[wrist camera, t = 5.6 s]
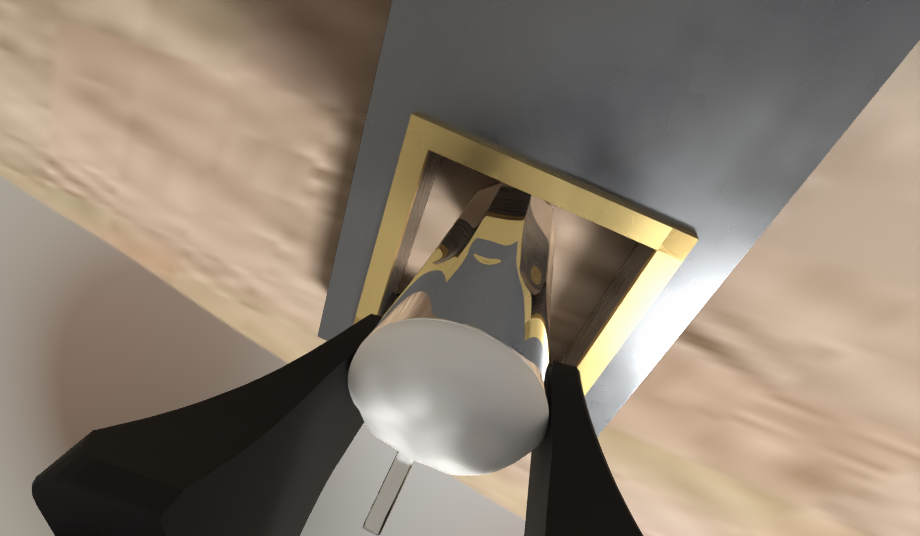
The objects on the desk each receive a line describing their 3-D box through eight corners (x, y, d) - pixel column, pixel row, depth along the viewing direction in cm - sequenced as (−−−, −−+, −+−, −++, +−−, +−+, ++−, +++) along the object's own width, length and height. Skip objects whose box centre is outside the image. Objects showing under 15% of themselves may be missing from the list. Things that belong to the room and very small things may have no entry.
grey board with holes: (1385, -635, 7) (1679, -878, 5) (581, 423, 21) (578, 465, 19) (629, -855, 8) (635, -1140, 6) (340, 310, 22) (313, 340, 20)
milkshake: (422, 251, 19) (281, 487, 11) (482, 137, 15) (340, 362, 8) (522, 306, 19) (454, 575, 11) (602, 206, 16) (585, 492, 8)
